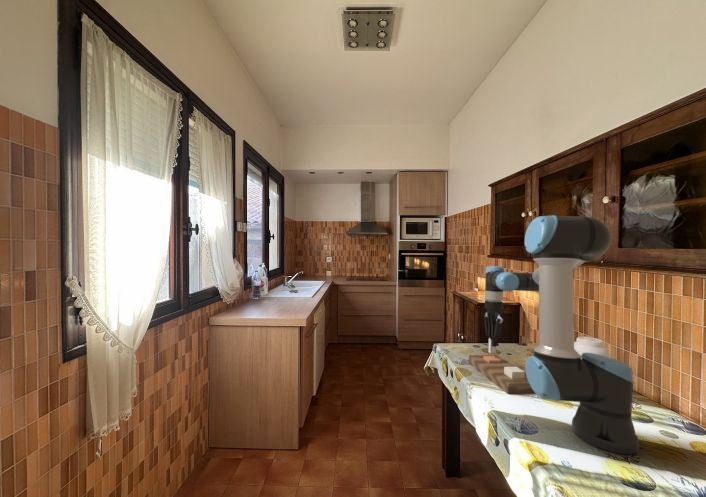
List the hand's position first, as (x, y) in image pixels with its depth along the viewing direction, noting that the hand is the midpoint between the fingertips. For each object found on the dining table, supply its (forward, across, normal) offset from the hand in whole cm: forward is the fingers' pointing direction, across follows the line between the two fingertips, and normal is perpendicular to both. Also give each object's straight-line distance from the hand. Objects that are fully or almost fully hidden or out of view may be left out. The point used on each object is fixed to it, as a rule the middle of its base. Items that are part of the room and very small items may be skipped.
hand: (492, 352), depth 139 cm
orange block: (+7, 0, 0) cm, 7 cm away
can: (+8, -20, -29) cm, 36 cm away
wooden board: (+8, -8, 0) cm, 11 cm away
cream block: (+6, -16, 0) cm, 17 cm away
